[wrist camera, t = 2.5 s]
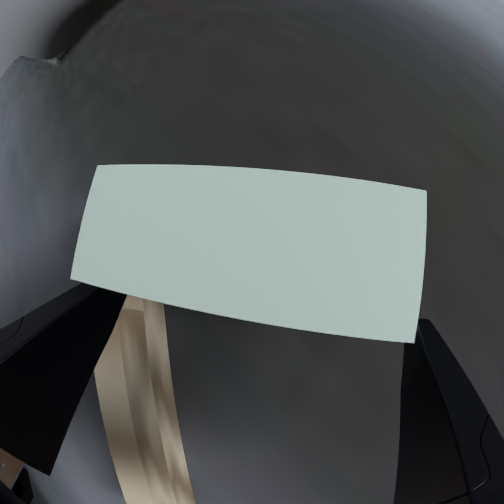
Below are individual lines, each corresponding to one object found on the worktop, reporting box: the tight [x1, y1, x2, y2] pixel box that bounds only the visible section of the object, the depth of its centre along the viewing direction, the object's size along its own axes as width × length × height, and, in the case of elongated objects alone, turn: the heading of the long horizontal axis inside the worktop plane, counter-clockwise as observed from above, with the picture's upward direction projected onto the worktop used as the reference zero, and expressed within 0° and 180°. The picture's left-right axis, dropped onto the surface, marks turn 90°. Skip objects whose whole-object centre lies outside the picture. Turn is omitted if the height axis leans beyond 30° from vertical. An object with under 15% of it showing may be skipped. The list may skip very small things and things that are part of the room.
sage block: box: [70, 165, 427, 343], centre depth 11 cm, size 2×6×12 cm, turn 80°
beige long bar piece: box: [94, 294, 195, 504], centre depth 15 cm, size 22×2×5 cm, turn 6°
